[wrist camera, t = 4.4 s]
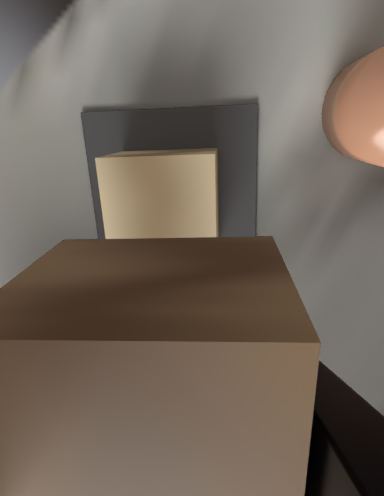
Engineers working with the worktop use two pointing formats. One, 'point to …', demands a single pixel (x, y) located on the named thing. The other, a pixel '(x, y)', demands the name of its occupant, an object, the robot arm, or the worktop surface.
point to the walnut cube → (156, 371)
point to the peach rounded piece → (357, 110)
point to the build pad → (186, 137)
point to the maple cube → (159, 193)
